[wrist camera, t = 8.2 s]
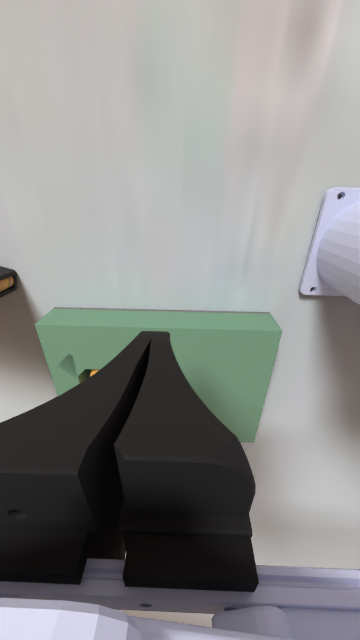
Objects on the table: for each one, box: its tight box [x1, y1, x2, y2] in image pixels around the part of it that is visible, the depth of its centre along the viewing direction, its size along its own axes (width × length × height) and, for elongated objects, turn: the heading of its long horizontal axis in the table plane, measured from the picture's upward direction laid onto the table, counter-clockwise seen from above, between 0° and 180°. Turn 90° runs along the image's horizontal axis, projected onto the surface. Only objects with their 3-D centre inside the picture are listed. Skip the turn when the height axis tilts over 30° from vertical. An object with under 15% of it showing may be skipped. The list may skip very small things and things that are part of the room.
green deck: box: [35, 307, 282, 442], centre depth 23 cm, size 20×14×3 cm
